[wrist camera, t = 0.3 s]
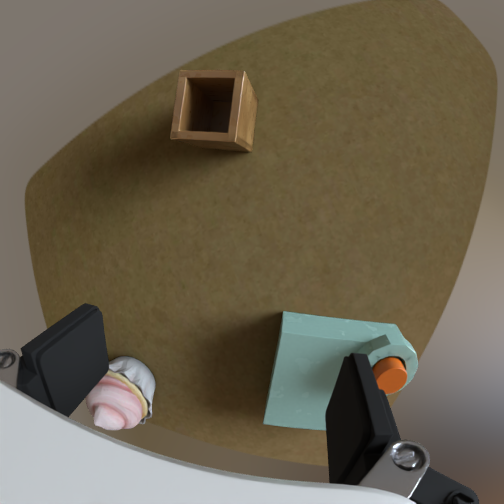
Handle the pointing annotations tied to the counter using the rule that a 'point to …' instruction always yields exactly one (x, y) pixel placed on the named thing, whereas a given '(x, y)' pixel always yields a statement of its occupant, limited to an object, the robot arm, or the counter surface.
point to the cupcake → (122, 395)
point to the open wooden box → (215, 110)
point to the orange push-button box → (323, 364)
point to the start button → (390, 374)
